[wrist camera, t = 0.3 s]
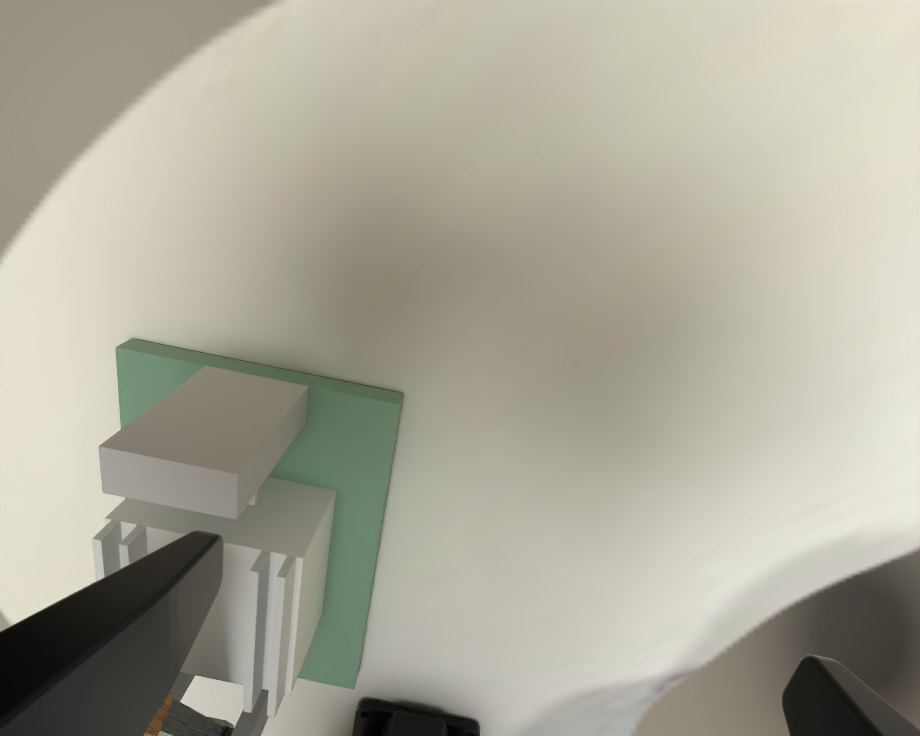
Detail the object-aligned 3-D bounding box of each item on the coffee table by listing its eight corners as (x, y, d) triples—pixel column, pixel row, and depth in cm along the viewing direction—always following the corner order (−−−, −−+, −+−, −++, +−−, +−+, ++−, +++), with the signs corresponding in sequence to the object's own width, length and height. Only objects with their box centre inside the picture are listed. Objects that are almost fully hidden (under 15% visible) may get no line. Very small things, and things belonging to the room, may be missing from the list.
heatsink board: (358, 671, 28) (311, 840, 22) (147, 628, 28) (33, 783, 22) (403, 393, 22) (356, 507, 15) (132, 338, 22) (-36, 428, 15)
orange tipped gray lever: (242, 727, 23) (230, 762, 22) (166, 711, 23) (152, 746, 22) (151, 669, 14) (125, 727, 13) (23, 643, 14) (-11, 699, 13)
